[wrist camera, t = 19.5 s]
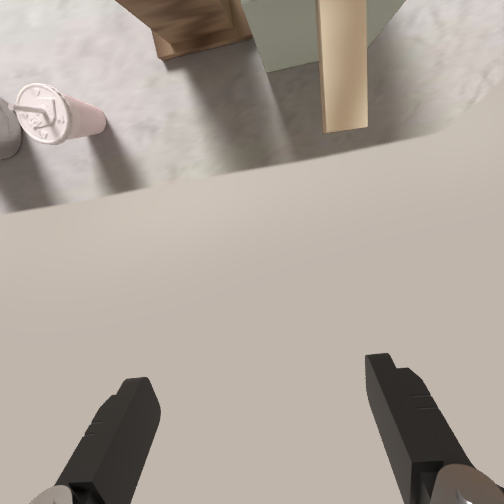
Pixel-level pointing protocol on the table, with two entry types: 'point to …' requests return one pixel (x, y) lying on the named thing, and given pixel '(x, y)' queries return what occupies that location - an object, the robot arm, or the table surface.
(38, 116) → the smoothie
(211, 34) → the wooden t-shaped stand
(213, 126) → the table surface
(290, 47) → the sage cabinet
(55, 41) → the table surface
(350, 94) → the hammer
